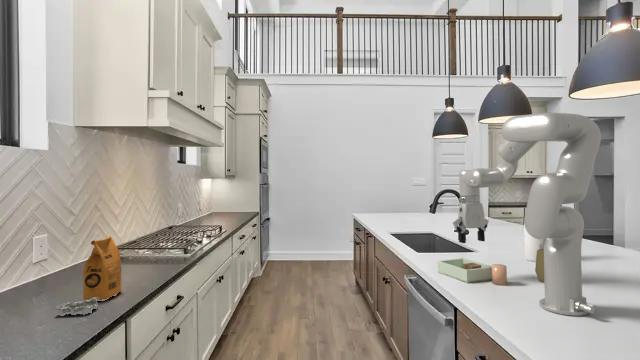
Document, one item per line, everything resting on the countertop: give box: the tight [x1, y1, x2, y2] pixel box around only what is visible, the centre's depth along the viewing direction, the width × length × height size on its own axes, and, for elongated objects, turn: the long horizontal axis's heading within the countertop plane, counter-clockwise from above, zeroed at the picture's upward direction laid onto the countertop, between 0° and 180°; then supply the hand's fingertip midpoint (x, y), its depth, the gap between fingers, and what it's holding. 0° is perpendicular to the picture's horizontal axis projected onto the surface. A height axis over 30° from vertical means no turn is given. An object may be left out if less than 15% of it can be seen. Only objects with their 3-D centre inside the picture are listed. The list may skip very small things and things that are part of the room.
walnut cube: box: [463, 263, 481, 270], centre depth 141 cm, size 5×5×5 cm
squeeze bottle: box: [534, 239, 546, 283], centre depth 134 cm, size 8×8×18 cm
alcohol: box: [523, 223, 543, 263], centre depth 168 cm, size 9×9×30 cm
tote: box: [437, 257, 492, 284], centre depth 144 cm, size 18×14×5 cm
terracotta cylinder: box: [491, 263, 508, 287], centre depth 133 cm, size 5×5×7 cm
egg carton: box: [56, 297, 100, 314], centre depth 113 cm, size 11×8×4 cm
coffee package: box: [82, 235, 122, 301], centre depth 127 cm, size 10×12×22 cm
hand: (471, 241), depth 140 cm, fingers open, 9 cm apart
